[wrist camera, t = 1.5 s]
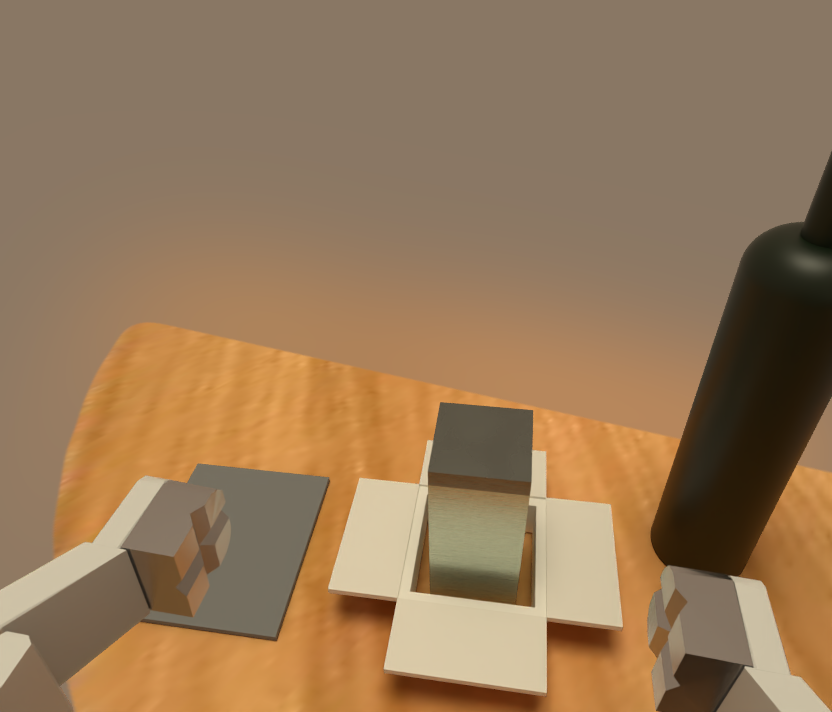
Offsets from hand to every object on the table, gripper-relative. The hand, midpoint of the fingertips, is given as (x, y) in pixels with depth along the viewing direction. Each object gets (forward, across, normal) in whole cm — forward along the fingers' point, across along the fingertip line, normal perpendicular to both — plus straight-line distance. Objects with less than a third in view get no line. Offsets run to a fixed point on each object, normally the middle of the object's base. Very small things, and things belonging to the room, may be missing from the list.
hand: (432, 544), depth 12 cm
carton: (+17, -1, +25) cm, 30 cm away
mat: (+17, +15, +26) cm, 34 cm away
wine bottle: (+22, -15, +24) cm, 36 cm away
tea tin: (+17, -1, +25) cm, 31 cm away
